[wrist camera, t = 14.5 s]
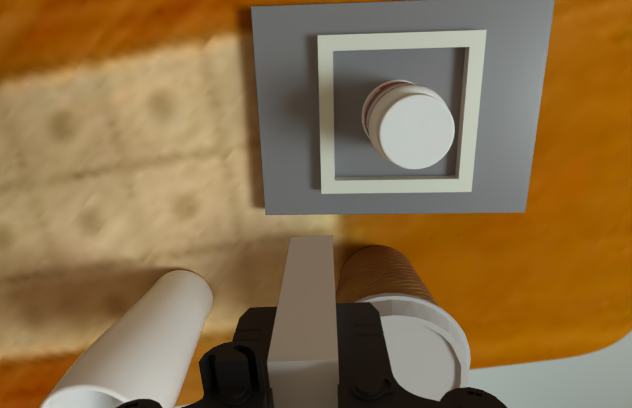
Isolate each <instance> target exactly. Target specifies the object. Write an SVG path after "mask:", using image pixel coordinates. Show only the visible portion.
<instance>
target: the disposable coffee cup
mask: <svg viewBox="0 0 632 408" xmlns="http://www.w3.org/2000/svg"><path fill="white" fill-rule="evenodd" d="M335 299H336V303H357V302H370V303H371V304H372V305H373V306H374V307H375V308H376V309H377V310H378V311H379V314H380V318H381V323H382V328H383V332H384V337H385V342H386V346H387V351H388V355H389V360H390V365H391V369H392V373H393V376H394V378H395V379H396V381H397V382H398V384H399V385H400V386H401V387H403V388H404V389H405V390H407V391H408V392H410V393H412V394H414V395H417V396H420V397H423V398H427V399H431V400H436V401H440V399H441V398H442V397H443V396H444V395H445V393H446V392H448V391H451V390H453V389H455V388H464V387H466V386H467V381H468V373H469V368H470V361H471V358H470V348H469V345H468V342H467V339H466V336H465V334H464V332H463V330H462V329H461V327H460V326H459V325H458V323H457V322H456V321H455V320H454V318H453V317H452V316H450V315H449V314H448V313H447V312H446V311H444V310H443V309H442V308H441V307H439V305H438V304H437V302H436V301H435V300H434V298H433V296H432V295H431V293H430V292H429V291H428V289H427V288H426V286H425V285H424V283H423V282H422V280H421V279H420V277H419V276H418V274H417V273H416V271H415V270H414V268H413V267H412V265H411V264H410V262H409V261H408V259H407V258H406V257H405V256H404V255H403V254H401V253H400V252H398V251H397V250H395V249H392V248H390V247H385V246H370V247H366V248H363V249H361V250H359V251H357V252H355V253H354V254H353V255H352V256H351V257H349V258H348V260H347V261H346V262H345V264H344V266H343V268H342V271H341V276H340V280H339V284H338V288H337V292H336V296H335Z"/></svg>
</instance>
